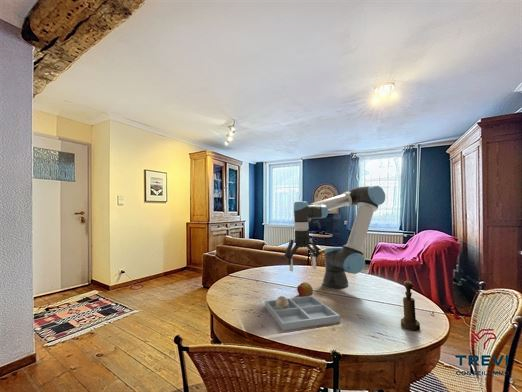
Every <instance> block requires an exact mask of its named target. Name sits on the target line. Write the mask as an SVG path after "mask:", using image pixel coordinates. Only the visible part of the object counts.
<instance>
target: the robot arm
mask: <svg viewBox="0 0 522 392" xmlns="http://www.w3.org/2000/svg"><path fill="white" fill-rule="evenodd" d="M385 201H386V193H385V190H384V189H383V188H382V187H381V186H379V185H376V184H373V185H372V184H371V185H365V186H359V187H355V188H353V189H350V190H349V189H348V190H347V191H344V192H342V194H338V195H336V196H332V197H329V198H325V199H321V200H319V201H314V202H311V203H308V201H304V200H303V201H294V203H293V218H294V219H293V220H294V222H293V223H294V239H289V243H288V246H287V248H286V250H285V252H284V254H283V258H287V265H288V266H289V271H290V272H294V267H293V266H294V265H293V263H294V261H293V256H294V255H295V254H296V252H297V251H298V249H299V248H301V249H302V248H307V249H308V251H309V252H310V253H311V255H312V256H311V258H312V259H311V260H312V269H314V270H317V263H318V257H319V256H320V255H321V252H320V250H319V248H318V246H317V244H316V241H315V238H314V237H313V238H312V237H311V238H310V231H309V220H310V219H325V218H326V217H327V216H328V214H329V211H333V210H337V209H338V208H342V207H351V206H357V207H358V210H357V211H356V214H355V218H354V222H353V225H352V226H351V227H352V228H351V229H350V234H349V236H348V240H347V242H346V244H344V245H343V246H332V247H326V248H325V249H324V262H325V265H324V266H325V272H324V275H323V279H322V284H323V286H325V285H326V286H325V287H328V286H329V287H328V288H333V287H334V289H343V288H342V287H344V288H347V287H348V286H349V281H348V278H347V275H346V273H348V274H353V275H356V274H359V273H361V272H362V271H363V270H364V269H365V266H366V260H365V257H364V251H363V247H364V244H365V240H366V237H367V235H368V231H369V228H370V225H371V221H372V220H373V215H374V212H376V211H377V210H378V208H379V205H382V204H385V203H384V202H385ZM309 243H310V244H311V245H312V247H311V245H310V244H309ZM292 247H293V248H292ZM335 287H336V288H335Z"/></svg>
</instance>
